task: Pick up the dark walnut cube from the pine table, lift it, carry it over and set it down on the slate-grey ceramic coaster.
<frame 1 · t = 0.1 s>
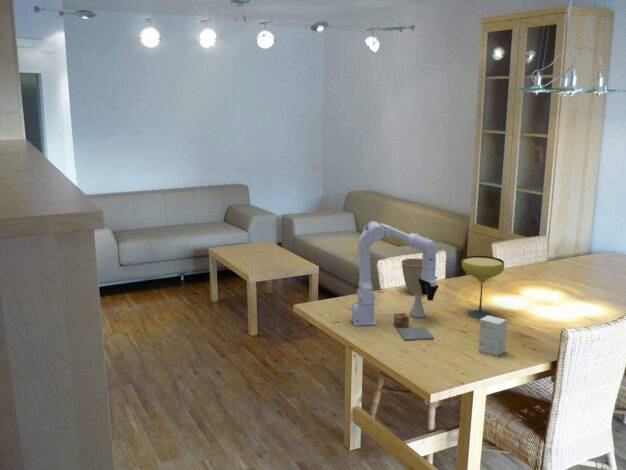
hand: (427, 297, 272), 10 cm above the table, fingers open, 7 cm apart
coaster: (414, 334, 256), on the table
cocktail glass: (479, 314, 280), on the table
walnut cube: (401, 326, 266), on the table
flask: (417, 316, 279), on the table
small box: (491, 351, 239), on the table
plant pot: (415, 293, 311), on the table
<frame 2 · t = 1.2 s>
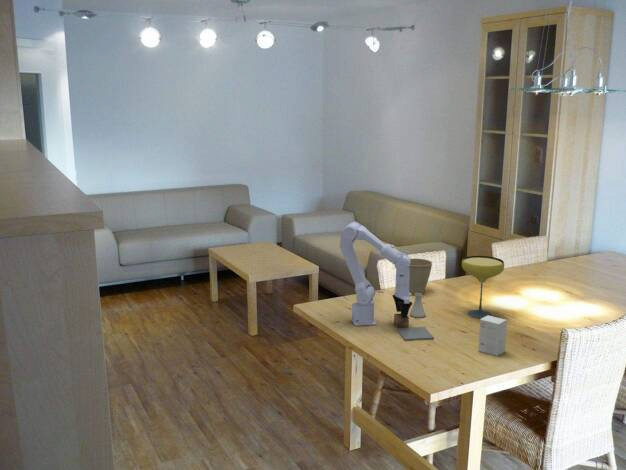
hand: (401, 314, 264), 5 cm above the table, fingers open, 7 cm apart
nothing on the table moved.
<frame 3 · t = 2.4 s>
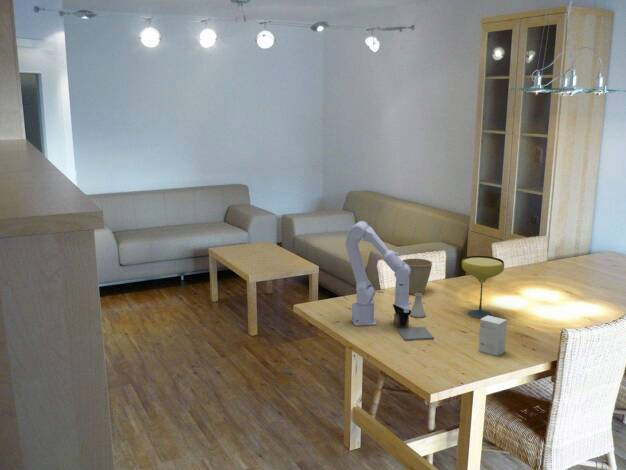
hand: (401, 323, 265), 1 cm above the table, fingers closed on walnut cube, 5 cm apart
walnut cube: (401, 326, 266), on the table, touching gripper
everything else where it was.
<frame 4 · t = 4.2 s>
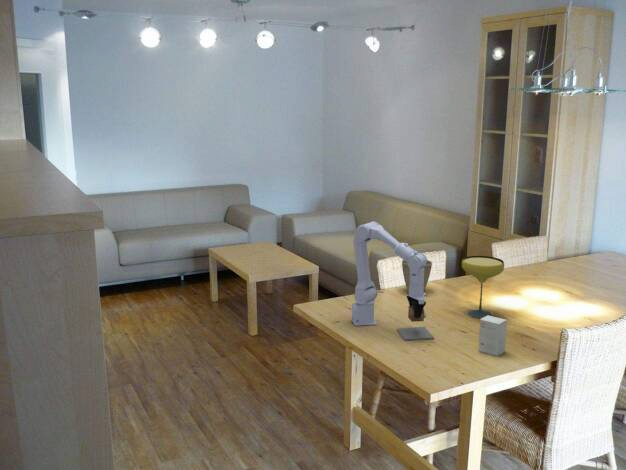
hand: (415, 315, 254), 8 cm above the table, fingers closed on walnut cube, 5 cm apart
walnut cube: (415, 319, 255), point 7 cm above the table, touching gripper
everything else where it was.
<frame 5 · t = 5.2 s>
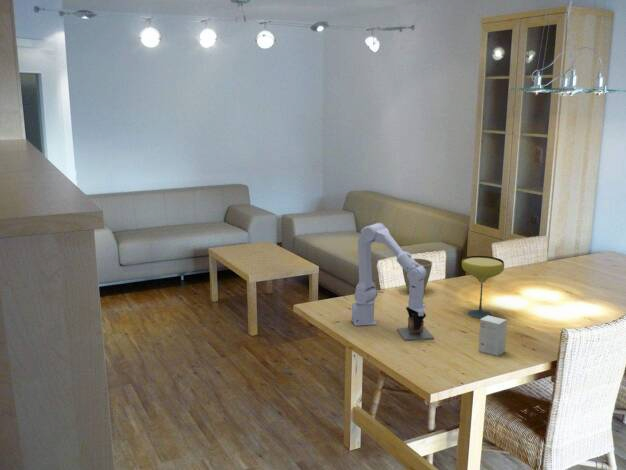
hand: (415, 326, 256), 3 cm above the table, fingers closed on walnut cube, 5 cm apart
walnut cube: (415, 330, 256), point 2 cm above the table, touching gripper
everything else where it was.
when the fingers open (3 cm above the table, at t = 6.0 s): walnut cube stays where it is, resting on coaster.
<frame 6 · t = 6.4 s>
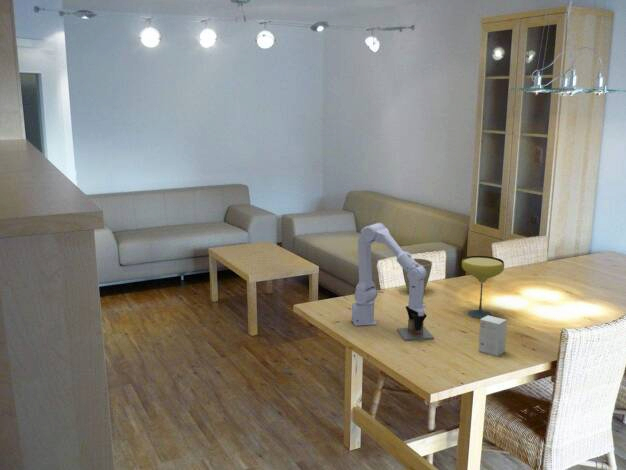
hand: (415, 326, 256), 3 cm above the table, fingers open, 7 cm apart
walnut cube: (415, 332, 256), point 1 cm above the table, touching coaster
everything else where it was.
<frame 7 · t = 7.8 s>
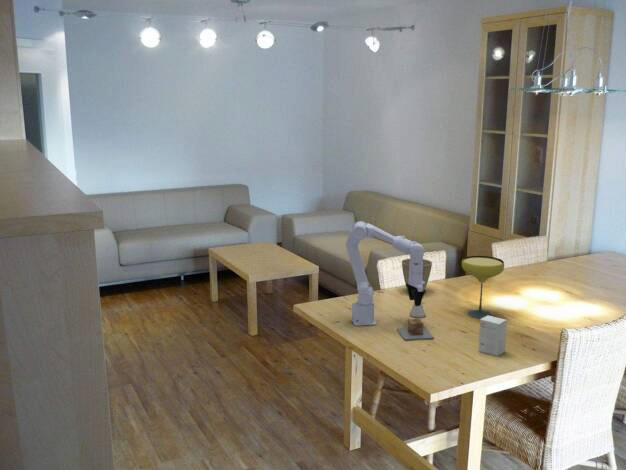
hand: (414, 302, 265), 10 cm above the table, fingers open, 7 cm apart
nothing on the table moved.
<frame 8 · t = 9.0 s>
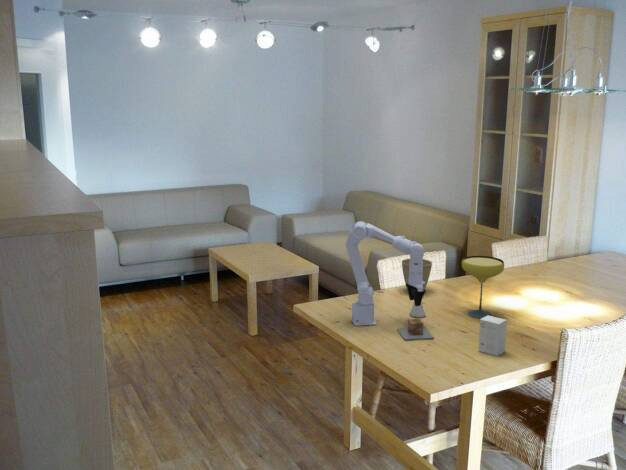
hand: (414, 302, 265), 10 cm above the table, fingers open, 7 cm apart
nothing on the table moved.
at the end: walnut cube inside the target area on the coaster (0.2 cm from its centre), point 0.8 cm above the coaster's base; walnut cube tilted 0°; the gripper is holding nothing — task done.
